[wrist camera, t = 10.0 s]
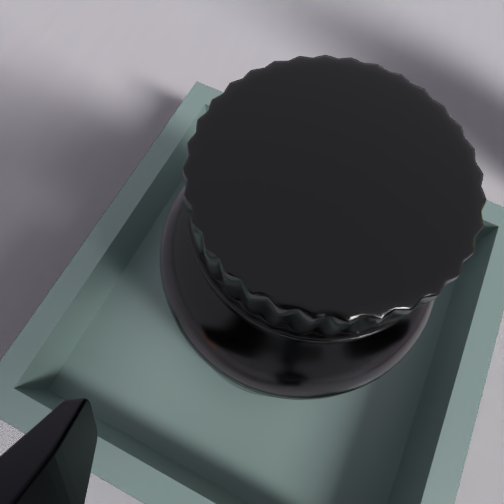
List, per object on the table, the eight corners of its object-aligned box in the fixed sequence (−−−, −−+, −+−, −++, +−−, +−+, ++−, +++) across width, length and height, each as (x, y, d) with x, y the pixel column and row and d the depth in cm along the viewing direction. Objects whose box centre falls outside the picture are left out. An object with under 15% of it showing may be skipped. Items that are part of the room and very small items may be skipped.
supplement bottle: (173, 374, 16) (21, 323, 5) (218, 230, 19) (183, -25, 7) (335, 417, 16) (566, 467, 5) (359, 264, 18) (551, 47, 7)
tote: (479, 246, 20) (527, 216, 16) (374, 602, 14) (413, 662, 11) (203, 128, 22) (196, 81, 19) (24, 401, 17) (-29, 402, 13)
